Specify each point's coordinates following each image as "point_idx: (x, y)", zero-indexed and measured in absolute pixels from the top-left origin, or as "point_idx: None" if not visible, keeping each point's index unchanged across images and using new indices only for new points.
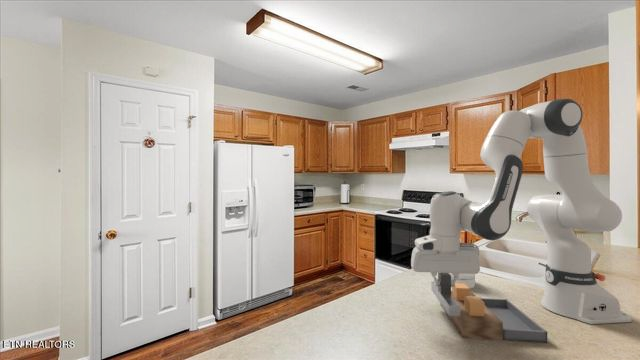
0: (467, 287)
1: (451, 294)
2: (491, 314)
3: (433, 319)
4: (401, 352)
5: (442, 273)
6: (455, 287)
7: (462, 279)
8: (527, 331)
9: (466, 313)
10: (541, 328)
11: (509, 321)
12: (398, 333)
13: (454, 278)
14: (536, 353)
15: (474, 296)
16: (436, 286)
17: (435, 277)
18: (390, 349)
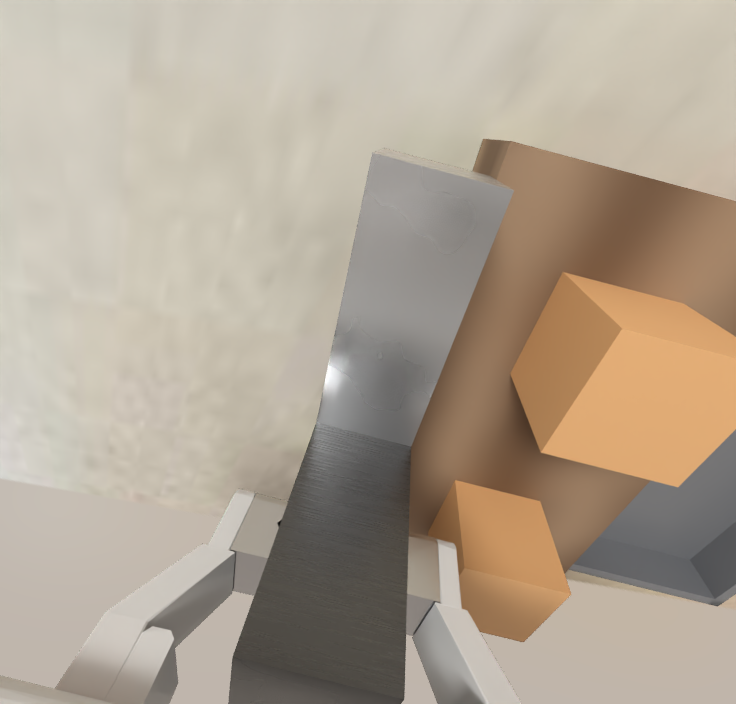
0: (683, 465)
1: (559, 264)
2: (567, 547)
3: (311, 335)
4: (111, 491)
5: (284, 693)
6: (557, 413)
7: None
8: (635, 584)
9: (426, 515)
10: (732, 590)
11: (727, 449)
12: (105, 408)
13: (436, 683)
14: (566, 575)
15: (542, 588)
16: (351, 335)
17: (177, 640)
18: (75, 475)
